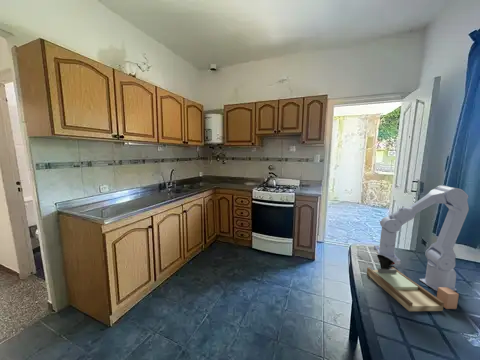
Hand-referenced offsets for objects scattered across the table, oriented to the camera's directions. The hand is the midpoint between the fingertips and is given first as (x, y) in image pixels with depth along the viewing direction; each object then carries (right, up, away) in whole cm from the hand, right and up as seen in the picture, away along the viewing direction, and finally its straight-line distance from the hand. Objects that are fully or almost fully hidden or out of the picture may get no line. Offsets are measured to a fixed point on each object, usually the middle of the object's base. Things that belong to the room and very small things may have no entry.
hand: (384, 271), depth 98 cm
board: (0, -4, -9) cm, 10 cm away
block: (+12, -5, -17) cm, 22 cm away
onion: (+10, -2, +11) cm, 16 cm away
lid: (0, -2, -7) cm, 7 cm away
